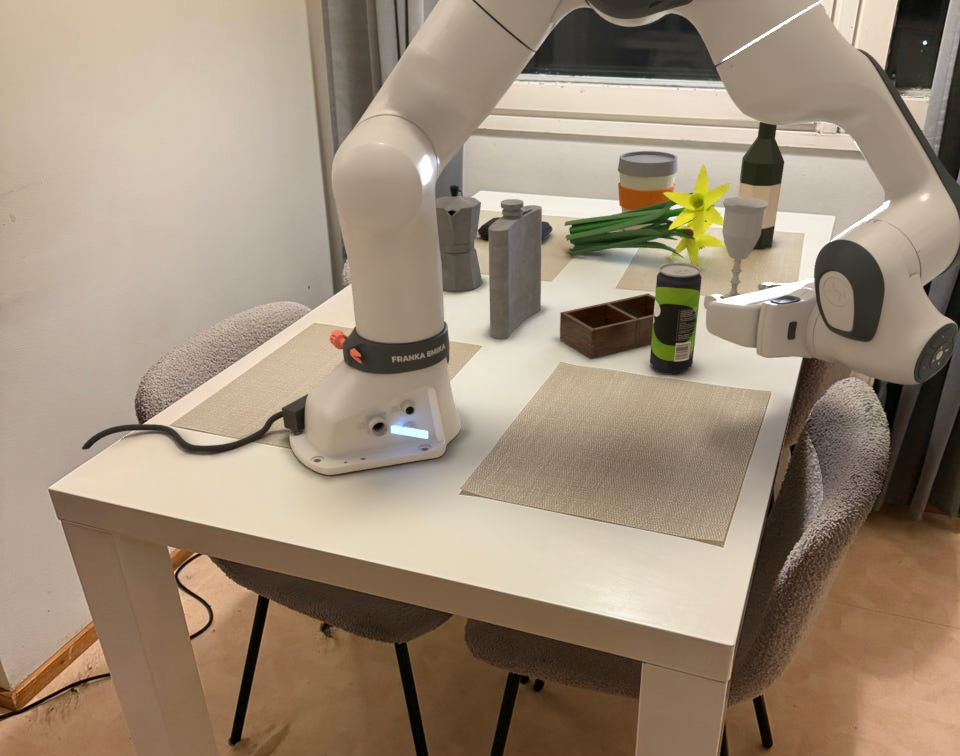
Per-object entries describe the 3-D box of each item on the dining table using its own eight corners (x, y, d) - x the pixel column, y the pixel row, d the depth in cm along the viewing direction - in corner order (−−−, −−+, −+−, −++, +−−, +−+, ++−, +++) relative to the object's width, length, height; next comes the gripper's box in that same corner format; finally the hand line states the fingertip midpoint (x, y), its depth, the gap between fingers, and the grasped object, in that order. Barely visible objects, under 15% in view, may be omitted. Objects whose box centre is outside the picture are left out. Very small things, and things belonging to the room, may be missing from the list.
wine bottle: (777, 241, 187) (801, 85, 171) (765, 251, 181) (788, 90, 165) (738, 235, 191) (758, 82, 175) (725, 245, 185) (744, 88, 169)
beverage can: (695, 361, 136) (705, 264, 128) (687, 378, 131) (698, 278, 123) (654, 356, 137) (662, 260, 130) (645, 372, 133) (653, 273, 125)
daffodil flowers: (593, 241, 192) (757, 214, 173) (577, 294, 186) (746, 273, 167) (561, 182, 180) (734, 147, 161) (543, 237, 174) (720, 207, 155)
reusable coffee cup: (614, 219, 203) (618, 150, 195) (671, 220, 202) (677, 150, 194) (614, 235, 193) (618, 163, 185) (673, 236, 191) (680, 163, 183)
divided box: (590, 359, 137) (591, 330, 135) (559, 339, 144) (560, 312, 142) (679, 337, 144) (682, 309, 141) (646, 319, 151) (648, 293, 148)
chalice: (760, 308, 154) (776, 201, 145) (740, 319, 150) (755, 210, 140) (722, 298, 158) (735, 194, 149) (702, 309, 154) (714, 203, 145)
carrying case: (556, 233, 195) (494, 227, 200) (557, 219, 194) (493, 213, 199) (539, 246, 187) (475, 240, 192) (540, 232, 185) (474, 226, 190)
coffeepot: (480, 296, 162) (478, 194, 153) (428, 295, 163) (423, 194, 153) (485, 269, 175) (483, 173, 166) (437, 268, 176) (433, 174, 167)
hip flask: (504, 340, 144) (503, 214, 134) (482, 336, 146) (479, 212, 135) (543, 307, 156) (545, 190, 146) (522, 304, 158) (522, 188, 148)
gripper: (882, 279, 110) (795, 258, 121) (761, 308, 101) (678, 282, 112) (874, 329, 113) (789, 304, 123) (755, 361, 104) (674, 331, 115)
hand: (735, 294), depth 118 cm, fingers open, 8 cm apart
